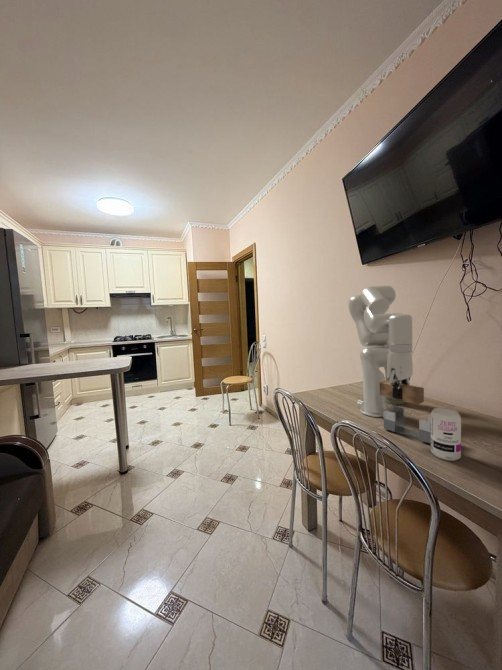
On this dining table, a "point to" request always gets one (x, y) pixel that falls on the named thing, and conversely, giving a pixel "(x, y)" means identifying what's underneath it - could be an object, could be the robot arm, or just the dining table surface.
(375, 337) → the robot arm
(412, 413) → the dining table surface
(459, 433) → the supplement can
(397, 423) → the bracket stand
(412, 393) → the brown wooden block
